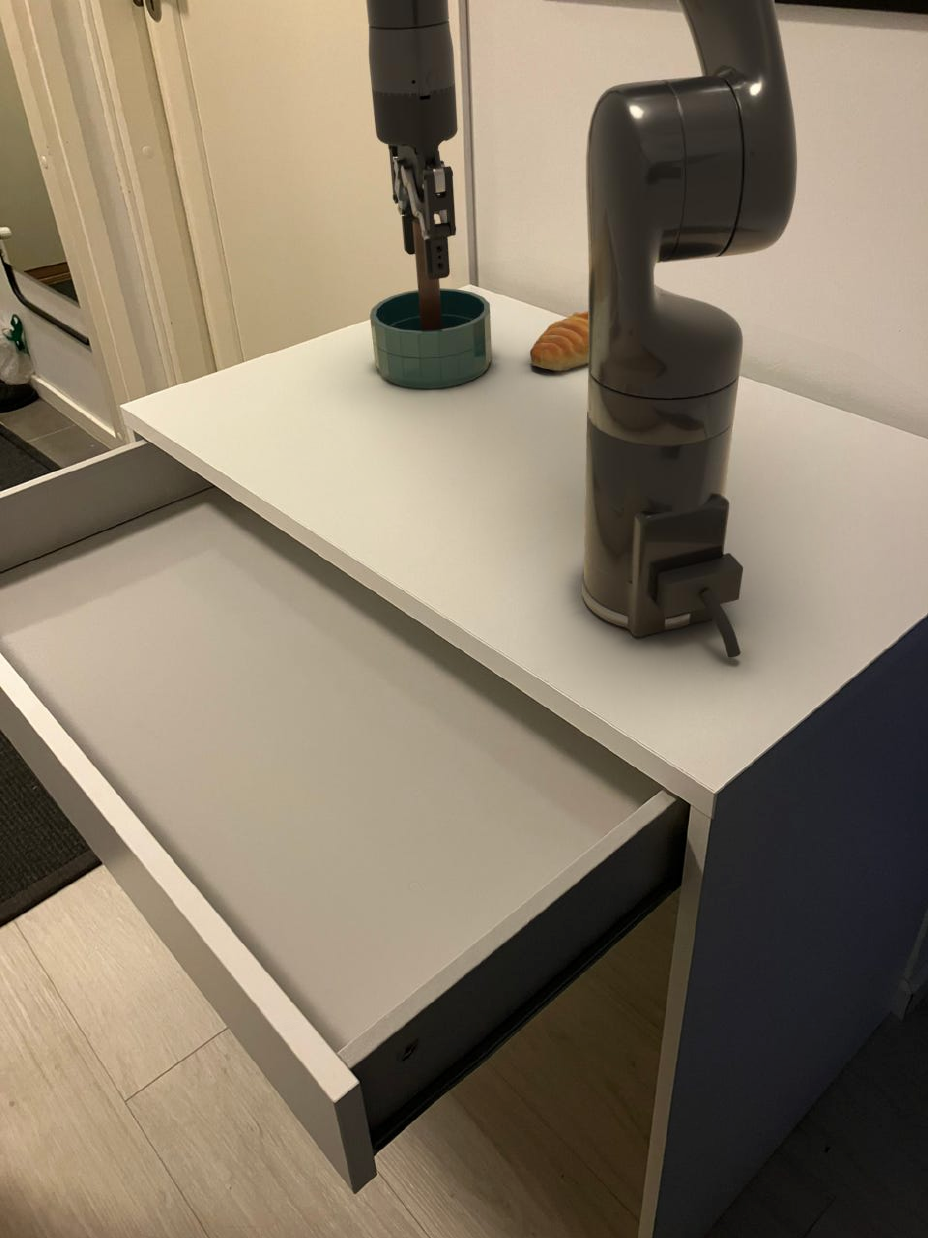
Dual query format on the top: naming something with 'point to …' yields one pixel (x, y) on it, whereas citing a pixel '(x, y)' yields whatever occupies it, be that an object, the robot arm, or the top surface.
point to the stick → (426, 286)
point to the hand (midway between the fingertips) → (426, 264)
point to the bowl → (432, 340)
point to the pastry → (563, 344)
